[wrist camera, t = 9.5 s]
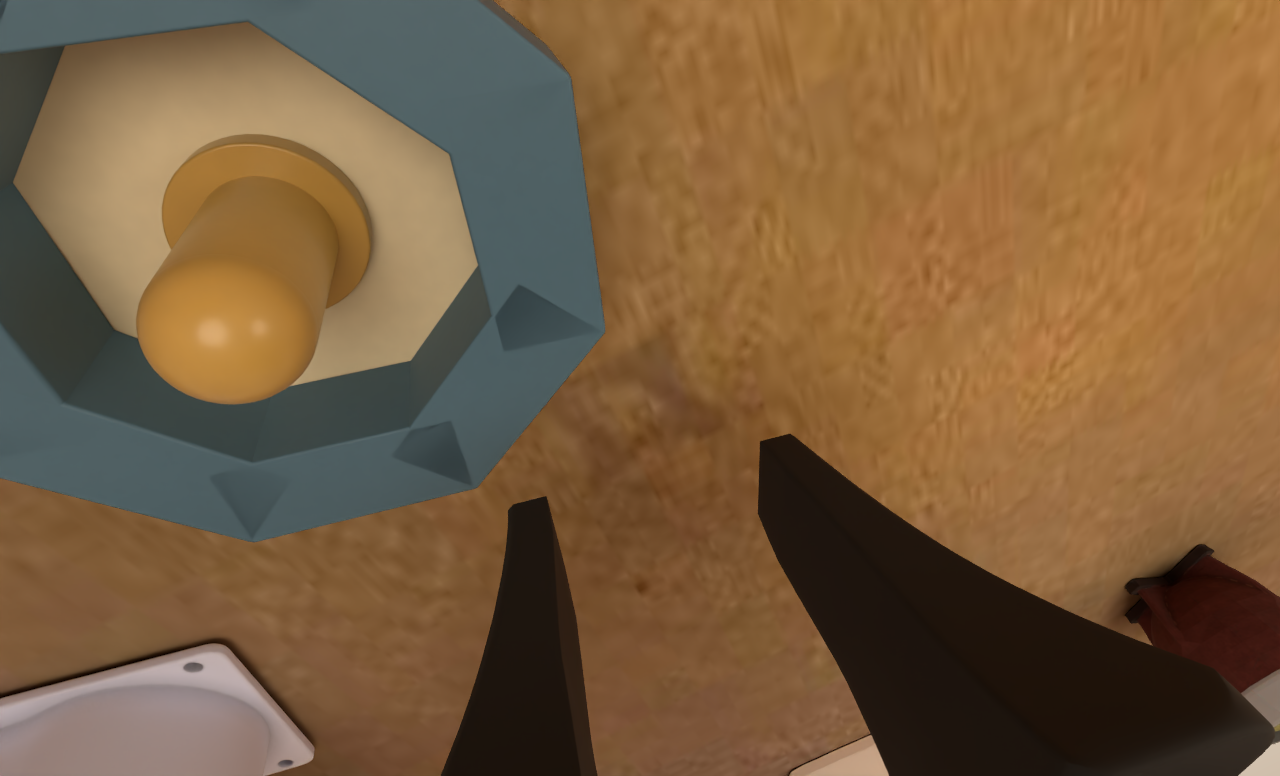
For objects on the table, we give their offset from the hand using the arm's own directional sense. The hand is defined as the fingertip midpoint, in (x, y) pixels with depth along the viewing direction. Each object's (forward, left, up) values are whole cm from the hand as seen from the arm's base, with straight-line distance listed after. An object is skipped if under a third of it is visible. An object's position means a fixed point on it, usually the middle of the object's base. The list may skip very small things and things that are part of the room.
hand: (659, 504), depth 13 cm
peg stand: (-6, +4, -7) cm, 10 cm away
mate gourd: (+30, -25, -7) cm, 39 cm away
